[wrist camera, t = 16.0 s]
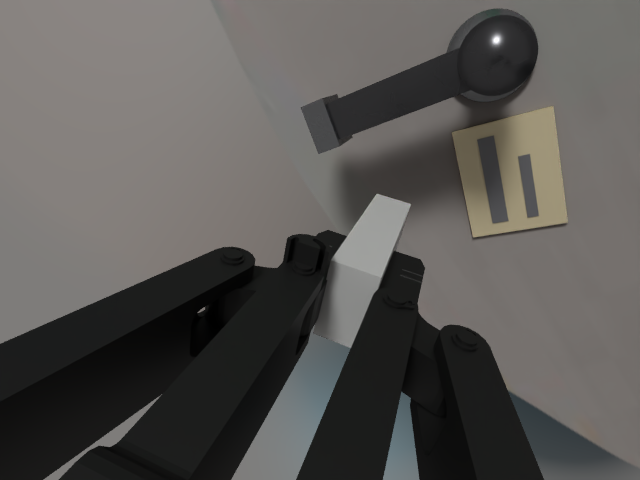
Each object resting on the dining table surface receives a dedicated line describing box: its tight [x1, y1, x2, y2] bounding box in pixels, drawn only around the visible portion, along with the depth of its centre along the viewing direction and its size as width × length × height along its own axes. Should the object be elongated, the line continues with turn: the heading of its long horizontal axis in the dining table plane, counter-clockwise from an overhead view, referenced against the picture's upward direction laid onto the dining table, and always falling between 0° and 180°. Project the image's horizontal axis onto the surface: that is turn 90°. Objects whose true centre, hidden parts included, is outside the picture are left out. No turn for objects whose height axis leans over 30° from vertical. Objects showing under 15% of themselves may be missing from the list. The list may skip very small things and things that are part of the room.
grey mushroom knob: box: [447, 9, 536, 102], centre depth 27 cm, size 6×6×5 cm
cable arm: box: [301, 15, 538, 154], centre depth 26 cm, size 14×4×4 cm, turn 112°
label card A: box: [452, 106, 568, 237], centre depth 32 cm, size 9×7×1 cm
